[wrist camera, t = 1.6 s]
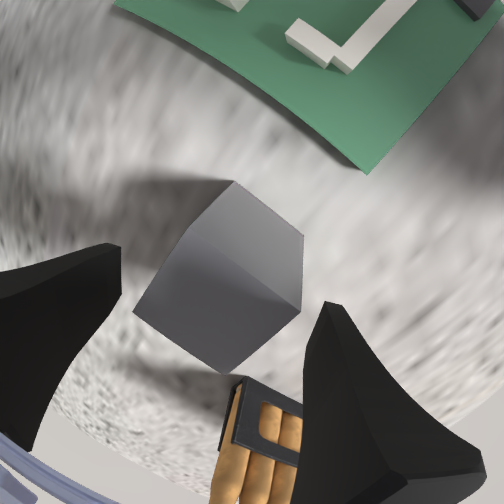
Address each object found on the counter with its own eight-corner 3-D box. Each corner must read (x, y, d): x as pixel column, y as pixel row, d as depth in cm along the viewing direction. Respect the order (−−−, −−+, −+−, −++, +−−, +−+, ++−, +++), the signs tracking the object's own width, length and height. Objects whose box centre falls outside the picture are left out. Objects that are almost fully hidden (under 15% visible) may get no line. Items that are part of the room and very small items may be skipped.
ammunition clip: (231, 387, 20) (181, 551, 9) (246, 374, 19) (197, 552, 8) (343, 440, 21) (339, 574, 10) (360, 430, 20) (361, 571, 9)
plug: (303, 235, 14) (300, 311, 9) (240, 302, 16) (210, 387, 11) (234, 180, 14) (188, 227, 8) (178, 256, 16) (122, 327, 11)
